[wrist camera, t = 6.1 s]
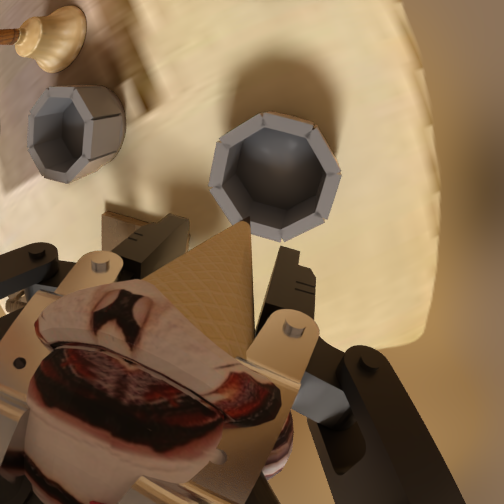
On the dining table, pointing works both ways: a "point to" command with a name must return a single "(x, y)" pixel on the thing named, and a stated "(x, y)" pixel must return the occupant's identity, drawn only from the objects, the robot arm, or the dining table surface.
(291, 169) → the cup
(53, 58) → the hand bell
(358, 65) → the dining table surface
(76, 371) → the ice cream cone
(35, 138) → the cup
